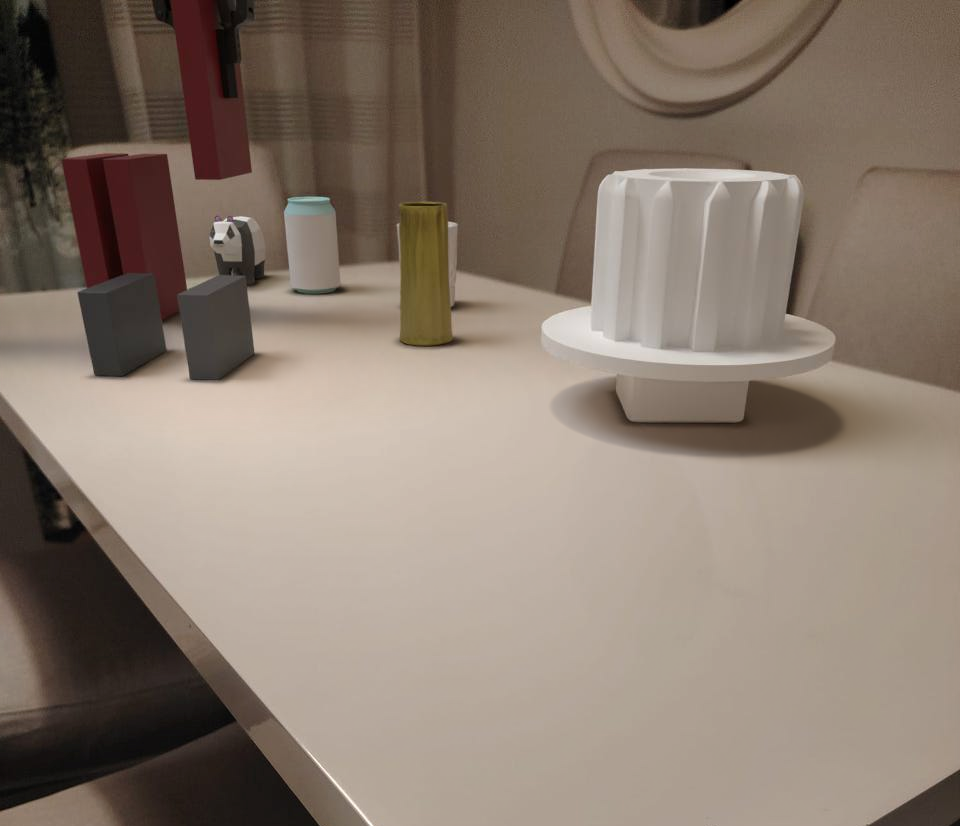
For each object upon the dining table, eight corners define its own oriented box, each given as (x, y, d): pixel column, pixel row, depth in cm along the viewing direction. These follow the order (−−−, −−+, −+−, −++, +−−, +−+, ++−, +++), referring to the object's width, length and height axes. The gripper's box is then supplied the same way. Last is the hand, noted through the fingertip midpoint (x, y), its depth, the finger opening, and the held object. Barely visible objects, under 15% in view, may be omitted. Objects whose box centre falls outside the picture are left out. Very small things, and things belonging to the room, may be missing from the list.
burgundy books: (93, 322, 116) (60, 158, 107) (132, 304, 125) (105, 153, 116) (155, 323, 115) (127, 159, 106) (189, 306, 124) (167, 153, 115)
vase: (463, 340, 108) (463, 204, 100) (423, 349, 104) (420, 208, 97) (428, 331, 111) (425, 199, 104) (388, 340, 108) (382, 203, 100)
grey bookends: (94, 375, 94) (76, 291, 90) (141, 349, 103) (127, 272, 99) (218, 379, 93) (207, 295, 89) (254, 353, 102) (245, 275, 98)
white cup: (468, 302, 127) (468, 222, 122) (442, 313, 121) (440, 229, 115) (417, 298, 130) (414, 219, 125) (389, 308, 123) (385, 226, 118)
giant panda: (235, 274, 146) (227, 207, 141) (270, 274, 146) (263, 207, 141) (205, 291, 134) (195, 218, 129) (243, 292, 133) (234, 218, 128)
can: (343, 293, 132) (336, 200, 126) (292, 295, 131) (284, 201, 125) (338, 284, 138) (331, 195, 132) (289, 286, 137) (281, 196, 131)
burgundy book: (194, 179, 106) (168, -14, 97) (228, 172, 116) (207, -4, 106) (220, 179, 106) (196, -14, 97) (252, 172, 115) (232, -5, 106)
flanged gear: (546, 451, 74) (556, 188, 65) (533, 370, 96) (539, 163, 86) (861, 452, 74) (918, 188, 65) (777, 371, 96) (811, 164, 86)
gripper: (270, -164, 97) (293, 97, 109) (122, -160, 99) (161, 97, 111) (246, -182, 91) (273, 98, 103) (89, -177, 92) (133, 98, 104)
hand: (215, 97), depth 107 cm, fingers closed on burgundy book, 3 cm apart
